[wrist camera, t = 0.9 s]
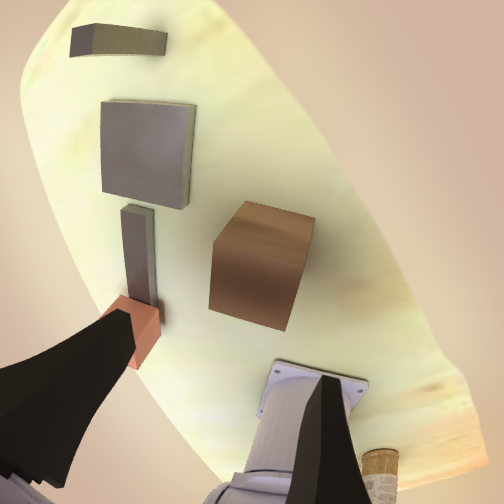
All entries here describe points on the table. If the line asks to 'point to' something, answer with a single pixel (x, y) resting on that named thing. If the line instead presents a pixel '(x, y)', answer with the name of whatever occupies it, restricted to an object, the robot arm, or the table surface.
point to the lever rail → (139, 253)
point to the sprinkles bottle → (381, 475)
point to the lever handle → (139, 326)
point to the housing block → (259, 264)
